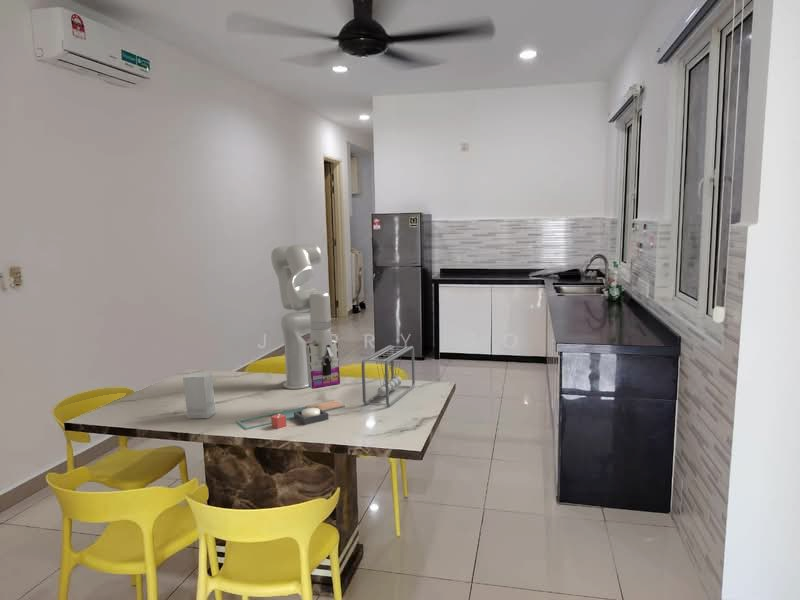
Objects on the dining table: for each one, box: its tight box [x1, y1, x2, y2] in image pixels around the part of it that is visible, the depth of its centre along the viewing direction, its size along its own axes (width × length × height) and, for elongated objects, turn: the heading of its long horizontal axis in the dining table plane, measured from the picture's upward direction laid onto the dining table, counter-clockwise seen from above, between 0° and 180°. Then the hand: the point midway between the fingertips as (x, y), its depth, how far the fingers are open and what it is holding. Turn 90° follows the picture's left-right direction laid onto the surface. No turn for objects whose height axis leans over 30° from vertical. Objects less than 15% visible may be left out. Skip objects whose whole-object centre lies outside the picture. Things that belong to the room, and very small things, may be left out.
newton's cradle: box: [361, 344, 416, 408], centre depth 222 cm, size 30×10×18 cm, turn 159°
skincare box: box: [182, 372, 217, 419], centre depth 204 cm, size 8×7×16 cm
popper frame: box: [294, 407, 329, 426], centre depth 198 cm, size 9×9×2 cm
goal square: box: [305, 400, 345, 411], centre depth 211 cm, size 8×12×1 cm, turn 125°
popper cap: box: [302, 408, 320, 417], centre depth 198 cm, size 6×6×2 cm
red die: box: [270, 414, 287, 430], centre depth 191 cm, size 4×4×4 cm
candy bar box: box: [306, 339, 341, 389], centre depth 209 cm, size 11×5×16 cm, turn 118°
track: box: [235, 399, 346, 430], centre depth 204 cm, size 10×38×1 cm, turn 125°
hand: (323, 373), depth 209 cm, fingers closed on candy bar box, 5 cm apart
